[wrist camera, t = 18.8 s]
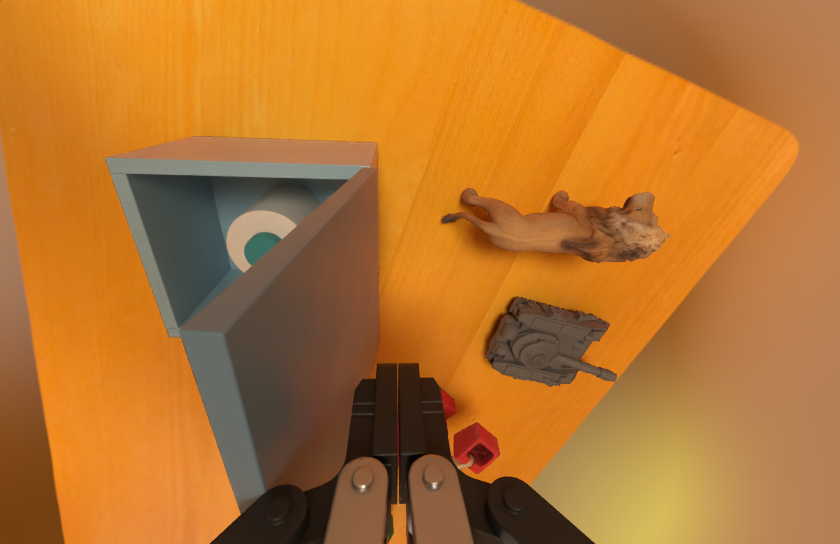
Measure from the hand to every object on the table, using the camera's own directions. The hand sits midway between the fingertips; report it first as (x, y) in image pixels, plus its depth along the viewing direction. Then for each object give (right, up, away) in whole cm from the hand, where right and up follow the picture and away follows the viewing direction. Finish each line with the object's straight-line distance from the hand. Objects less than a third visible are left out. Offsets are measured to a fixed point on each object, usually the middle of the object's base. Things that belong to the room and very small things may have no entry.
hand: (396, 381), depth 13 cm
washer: (-10, +9, +17) cm, 21 cm away
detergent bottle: (-10, +9, +16) cm, 20 cm away
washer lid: (-3, +1, +2) cm, 4 cm away
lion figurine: (+10, +10, +18) cm, 23 cm away
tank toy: (+14, -3, +25) cm, 28 cm away
